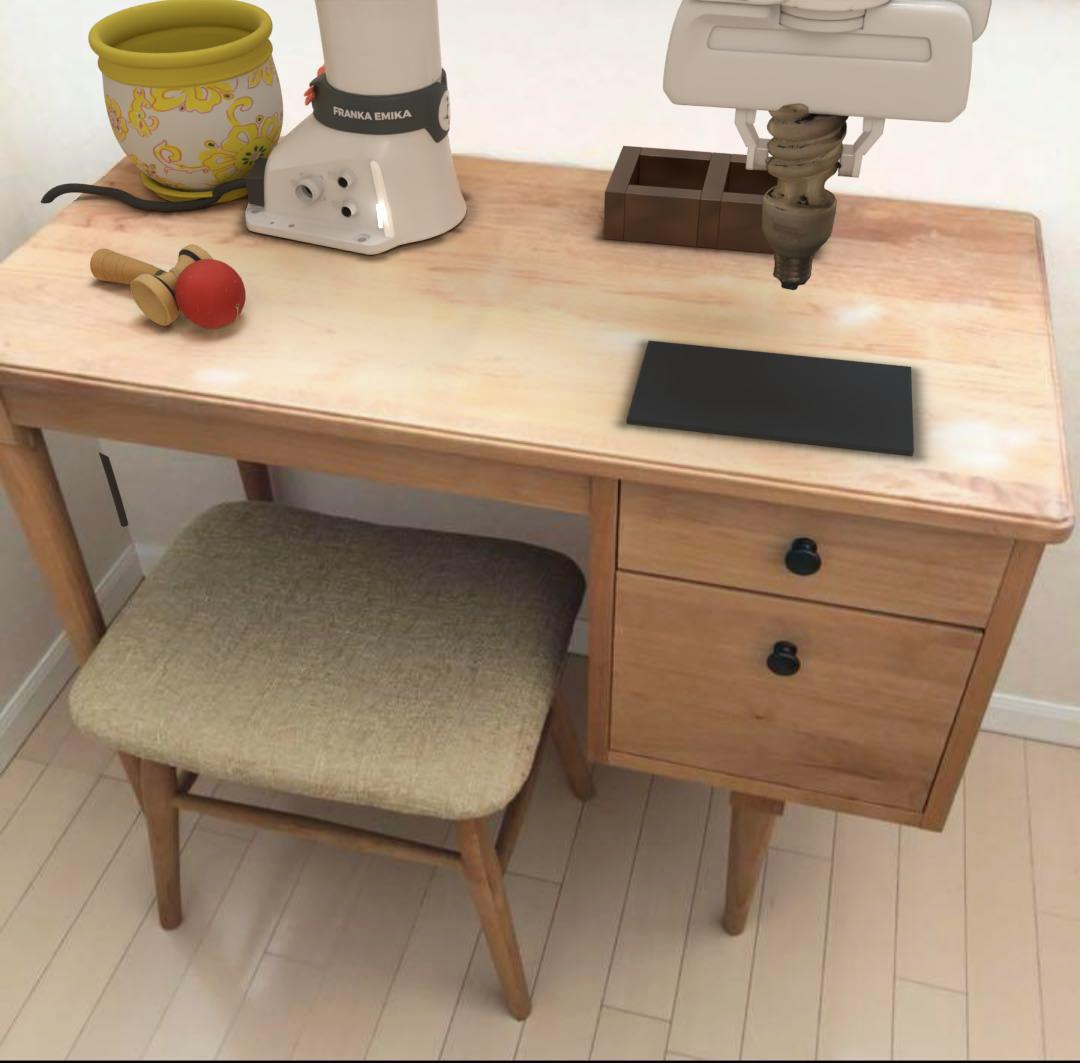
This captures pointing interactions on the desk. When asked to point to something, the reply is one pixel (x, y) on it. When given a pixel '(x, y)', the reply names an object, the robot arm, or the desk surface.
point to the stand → (687, 199)
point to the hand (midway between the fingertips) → (801, 170)
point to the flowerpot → (190, 92)
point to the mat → (775, 397)
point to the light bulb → (800, 188)
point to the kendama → (177, 286)
